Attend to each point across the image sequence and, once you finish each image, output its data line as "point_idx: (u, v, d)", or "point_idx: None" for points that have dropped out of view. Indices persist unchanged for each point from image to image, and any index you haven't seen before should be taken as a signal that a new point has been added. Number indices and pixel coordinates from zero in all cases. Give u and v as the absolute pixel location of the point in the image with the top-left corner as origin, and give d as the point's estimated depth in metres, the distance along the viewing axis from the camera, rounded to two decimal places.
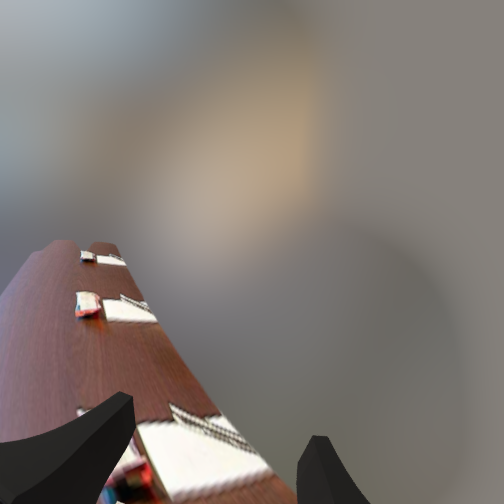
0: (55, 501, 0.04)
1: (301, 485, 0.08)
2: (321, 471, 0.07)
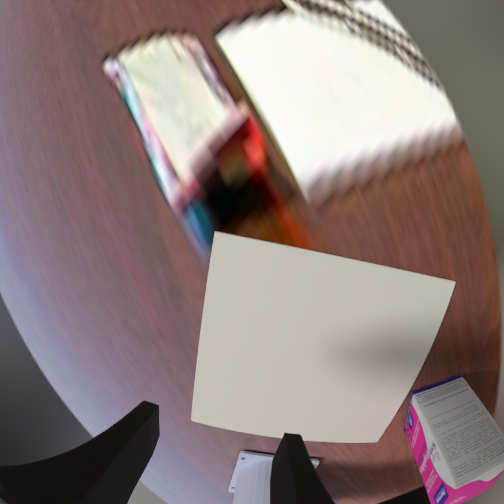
0: None
1: (273, 483, 0.08)
2: (289, 469, 0.07)
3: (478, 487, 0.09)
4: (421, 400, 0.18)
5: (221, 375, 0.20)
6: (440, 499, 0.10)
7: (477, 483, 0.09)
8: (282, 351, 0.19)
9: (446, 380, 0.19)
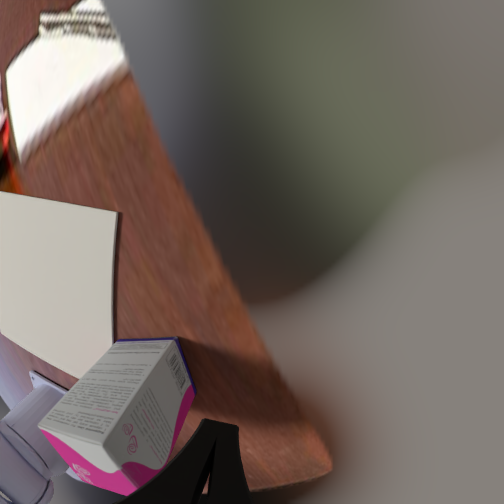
0: None
1: (210, 473, 0.08)
2: (214, 458, 0.07)
3: (95, 470, 0.10)
4: (113, 347, 0.19)
5: (1, 290, 0.21)
6: None
7: (75, 453, 0.10)
8: (17, 271, 0.20)
9: (155, 338, 0.20)
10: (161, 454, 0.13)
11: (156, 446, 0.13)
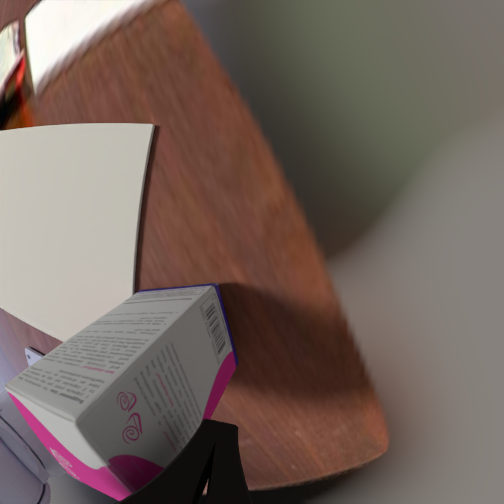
0: None
1: (209, 473, 0.08)
2: (213, 458, 0.07)
3: (75, 461, 0.06)
4: (132, 298, 0.16)
5: None
6: None
7: (48, 433, 0.06)
8: (18, 218, 0.17)
9: (188, 286, 0.16)
10: (181, 446, 0.09)
11: (174, 433, 0.09)
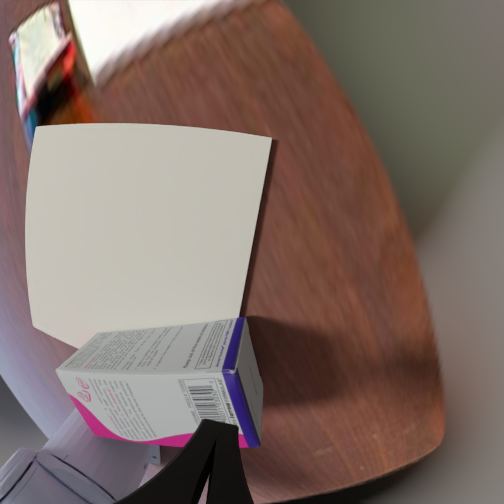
0: None
1: (210, 473, 0.08)
2: (213, 458, 0.07)
3: None
4: (220, 322, 0.16)
5: (40, 264, 0.18)
6: None
7: None
8: (75, 232, 0.17)
9: (235, 349, 0.13)
10: (125, 431, 0.13)
11: (118, 422, 0.13)
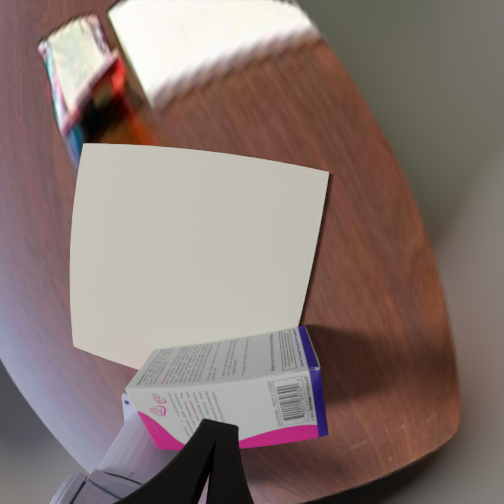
0: None
1: (210, 473, 0.08)
2: (214, 458, 0.07)
3: None
4: (283, 331, 0.18)
5: (88, 284, 0.19)
6: None
7: None
8: (134, 252, 0.19)
9: (310, 351, 0.15)
10: None
11: (193, 432, 0.14)
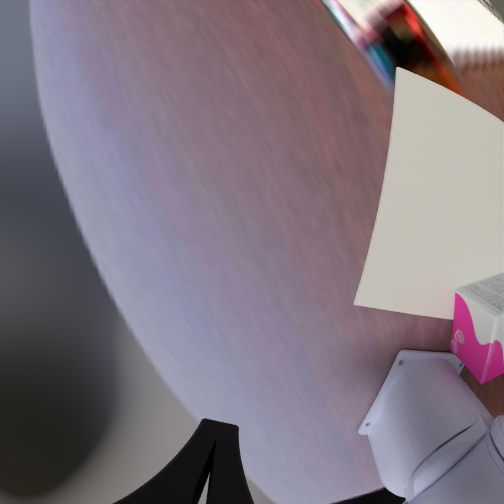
0: None
1: (210, 473, 0.08)
2: (213, 458, 0.07)
3: (471, 339, 0.15)
4: None
5: (405, 219, 0.17)
6: None
7: (469, 320, 0.15)
8: (457, 189, 0.16)
9: None
10: None
11: None
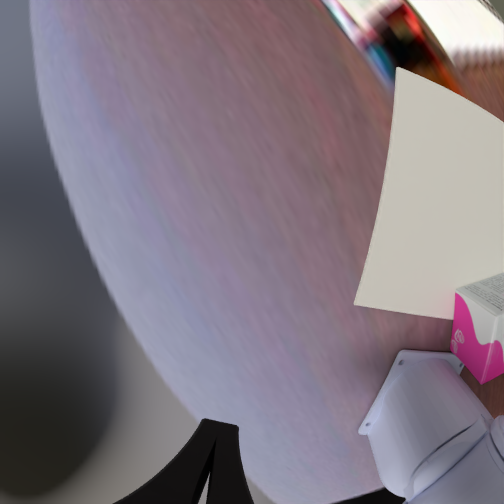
0: None
1: (210, 473, 0.08)
2: (213, 458, 0.07)
3: (471, 339, 0.15)
4: None
5: (405, 219, 0.17)
6: None
7: (469, 320, 0.15)
8: (457, 189, 0.16)
9: None
10: None
11: None
